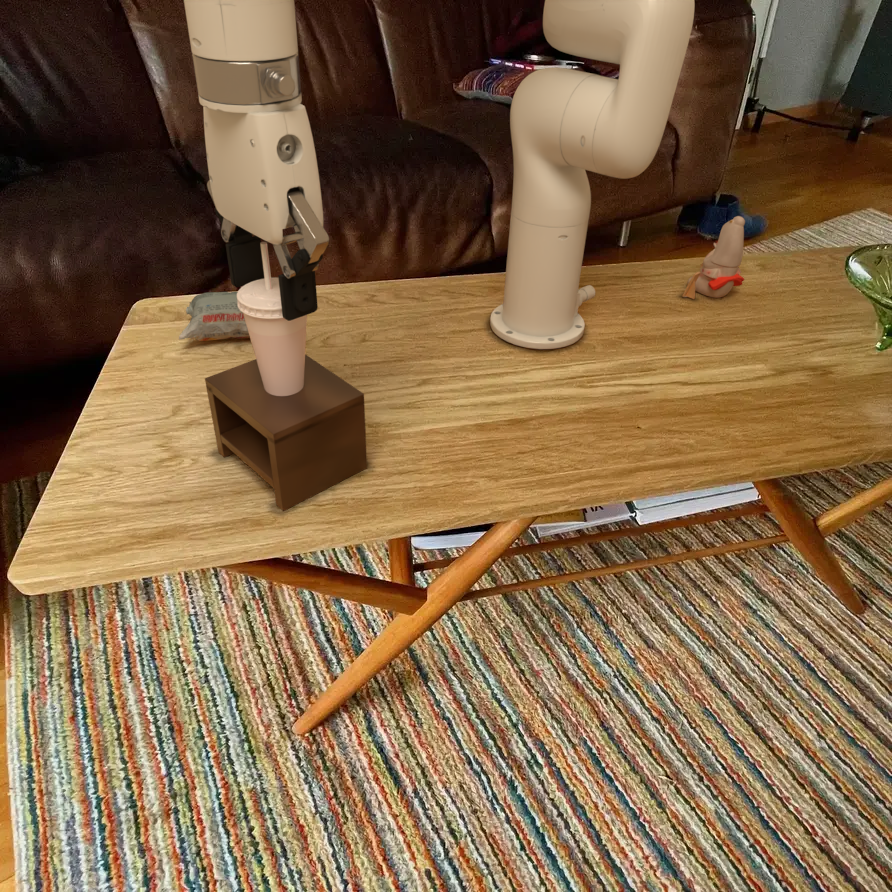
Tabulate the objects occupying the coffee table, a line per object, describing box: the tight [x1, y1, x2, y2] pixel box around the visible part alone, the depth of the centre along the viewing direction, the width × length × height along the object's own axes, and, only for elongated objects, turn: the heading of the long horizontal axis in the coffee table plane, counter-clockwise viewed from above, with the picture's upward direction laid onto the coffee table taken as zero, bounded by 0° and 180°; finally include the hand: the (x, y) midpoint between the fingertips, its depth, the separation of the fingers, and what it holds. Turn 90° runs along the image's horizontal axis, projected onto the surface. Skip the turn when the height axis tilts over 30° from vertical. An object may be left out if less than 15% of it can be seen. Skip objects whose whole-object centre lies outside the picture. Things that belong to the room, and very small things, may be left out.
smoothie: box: [236, 241, 308, 396], centre depth 68 cm, size 6×6×14 cm
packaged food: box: [178, 291, 250, 342], centre depth 97 cm, size 9×12×5 cm
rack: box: [204, 353, 368, 512], centre depth 75 cm, size 10×12×9 cm
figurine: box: [681, 215, 746, 300], centre depth 109 cm, size 9×7×12 cm
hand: (273, 297), depth 67 cm, fingers open, 7 cm apart
